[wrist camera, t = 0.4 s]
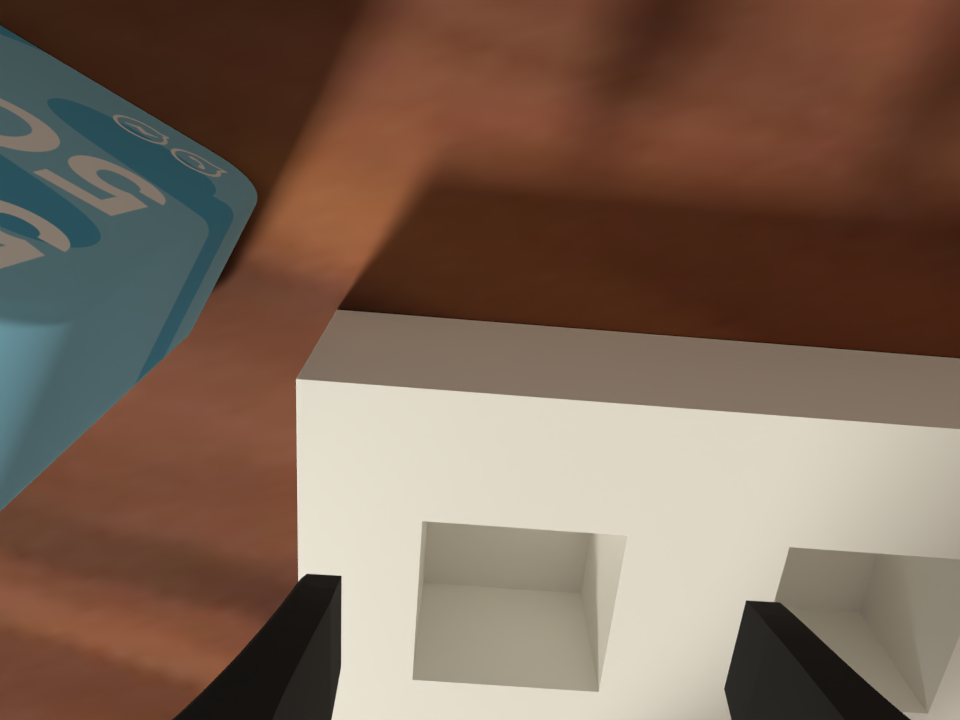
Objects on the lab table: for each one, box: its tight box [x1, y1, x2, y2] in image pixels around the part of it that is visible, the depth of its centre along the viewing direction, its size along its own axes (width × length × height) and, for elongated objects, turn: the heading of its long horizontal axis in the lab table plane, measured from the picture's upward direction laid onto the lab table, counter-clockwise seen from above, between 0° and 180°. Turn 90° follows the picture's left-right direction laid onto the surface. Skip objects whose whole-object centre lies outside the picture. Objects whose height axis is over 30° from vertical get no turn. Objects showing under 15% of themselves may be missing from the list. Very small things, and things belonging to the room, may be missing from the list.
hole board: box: [296, 310, 960, 720], centre depth 22 cm, size 12×20×5 cm, turn 85°
